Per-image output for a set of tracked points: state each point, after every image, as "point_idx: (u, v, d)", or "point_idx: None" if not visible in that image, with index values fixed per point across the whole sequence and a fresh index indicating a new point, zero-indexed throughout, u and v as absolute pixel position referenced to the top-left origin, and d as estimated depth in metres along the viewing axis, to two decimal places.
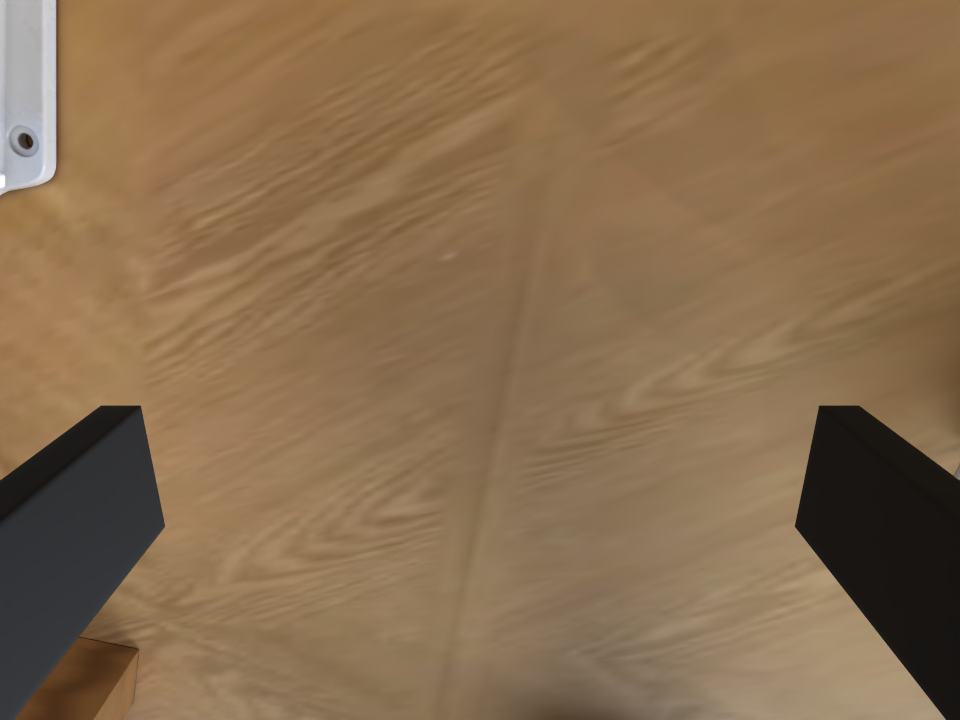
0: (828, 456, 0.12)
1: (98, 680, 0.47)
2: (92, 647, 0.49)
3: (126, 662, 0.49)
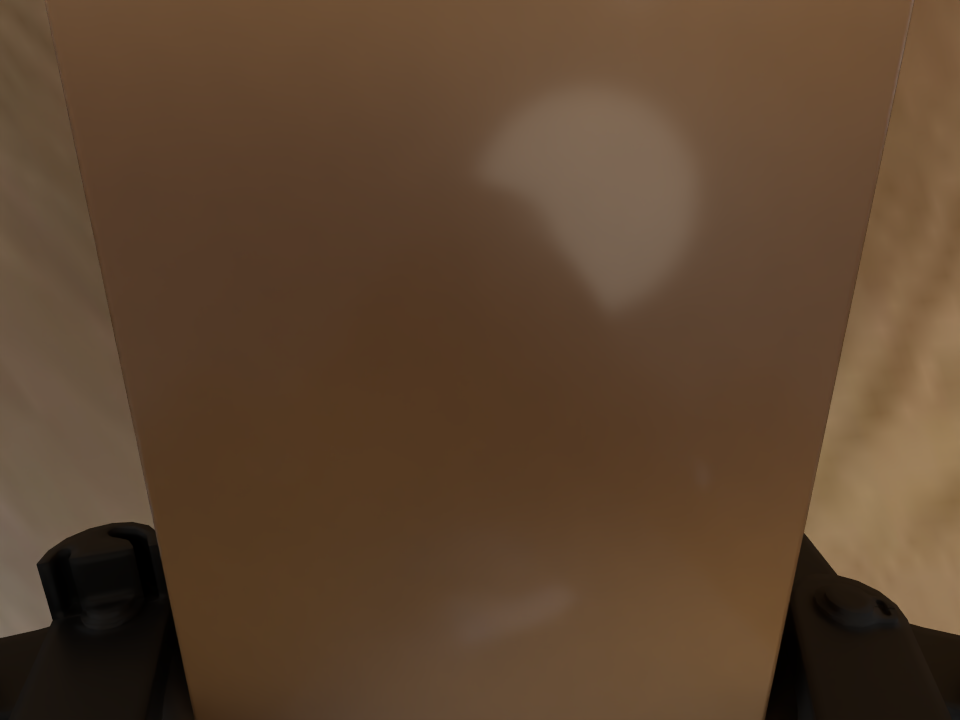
0: None
1: None
2: None
3: None
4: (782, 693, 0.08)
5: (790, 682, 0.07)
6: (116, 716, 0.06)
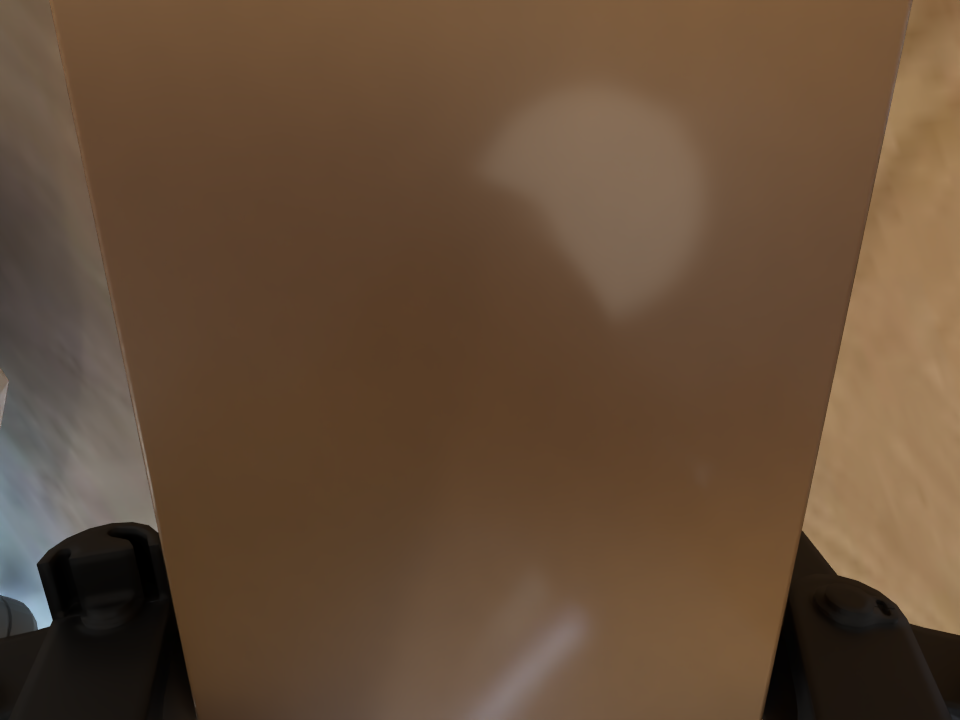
0: None
1: None
2: None
3: None
4: (782, 693, 0.08)
5: (790, 682, 0.07)
6: (116, 716, 0.06)
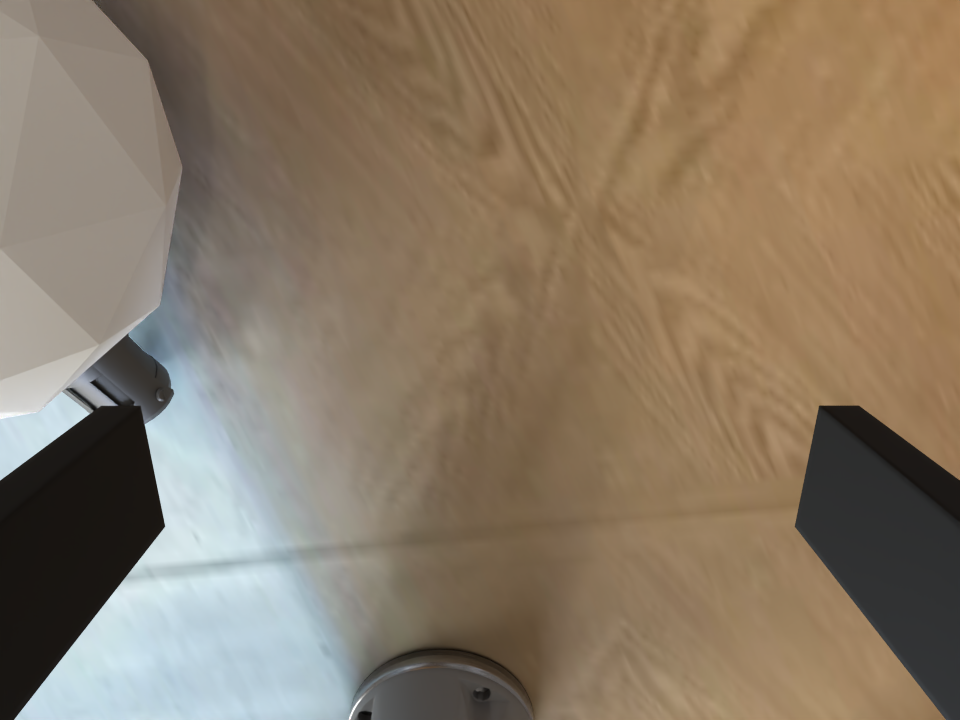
0: (828, 456, 0.12)
1: None
2: None
3: None
4: None
5: None
6: None
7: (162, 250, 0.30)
